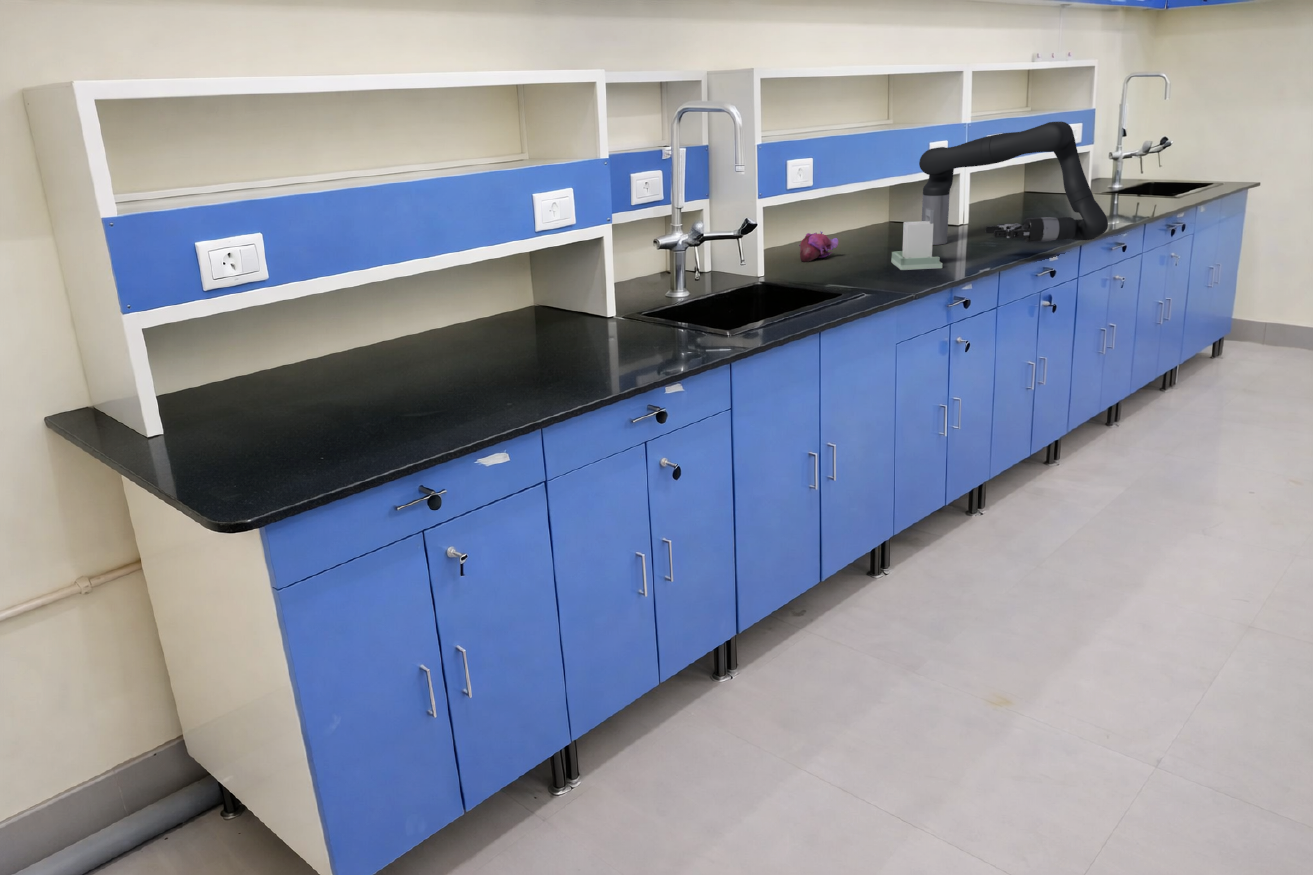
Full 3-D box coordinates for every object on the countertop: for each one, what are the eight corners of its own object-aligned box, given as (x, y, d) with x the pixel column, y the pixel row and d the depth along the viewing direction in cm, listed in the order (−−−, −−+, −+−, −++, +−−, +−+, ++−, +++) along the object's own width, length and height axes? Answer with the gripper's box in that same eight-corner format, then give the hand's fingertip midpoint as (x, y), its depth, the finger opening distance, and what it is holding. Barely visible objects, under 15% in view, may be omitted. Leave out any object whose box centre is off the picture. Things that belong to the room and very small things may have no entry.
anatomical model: (804, 262, 329) (845, 251, 331) (797, 234, 328) (839, 224, 330) (793, 266, 340) (834, 255, 342) (787, 239, 339) (827, 229, 341)
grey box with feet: (902, 259, 319) (903, 209, 314) (926, 258, 319) (929, 208, 314) (906, 262, 313) (908, 212, 308) (931, 261, 313) (934, 210, 308)
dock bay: (891, 262, 323) (891, 251, 322) (930, 260, 323) (931, 249, 322) (901, 270, 310) (901, 259, 309) (942, 268, 310) (942, 257, 309)
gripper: (1033, 214, 318) (983, 217, 318) (1050, 220, 304) (997, 223, 305) (1031, 238, 320) (982, 240, 321) (1048, 244, 307) (996, 247, 307)
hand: (989, 232), depth 313 cm, fingers open, 8 cm apart
